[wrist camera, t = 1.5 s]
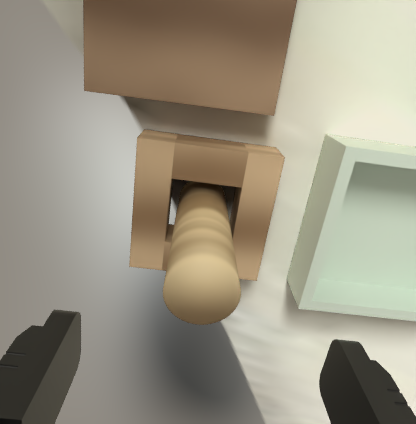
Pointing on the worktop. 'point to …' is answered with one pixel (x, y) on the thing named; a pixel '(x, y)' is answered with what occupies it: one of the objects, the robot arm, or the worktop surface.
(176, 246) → the dowel
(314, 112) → the worktop surface
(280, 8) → the plate
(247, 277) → the holder block
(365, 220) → the tray
